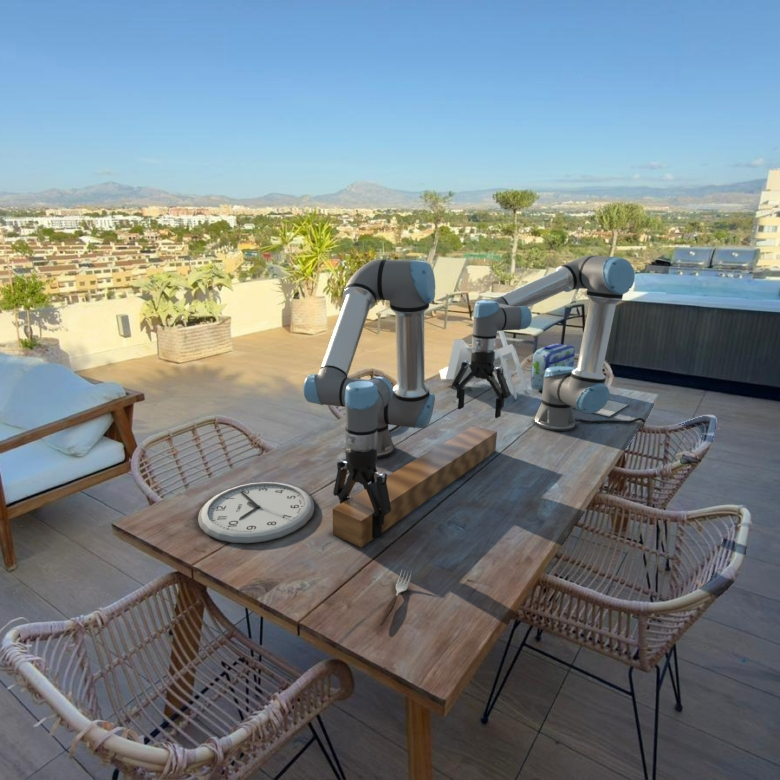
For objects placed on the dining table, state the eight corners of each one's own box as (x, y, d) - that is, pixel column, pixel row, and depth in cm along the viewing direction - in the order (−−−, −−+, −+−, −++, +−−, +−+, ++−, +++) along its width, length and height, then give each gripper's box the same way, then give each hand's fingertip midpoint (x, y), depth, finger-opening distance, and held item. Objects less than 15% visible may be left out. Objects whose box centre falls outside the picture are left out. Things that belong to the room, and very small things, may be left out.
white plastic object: (461, 429, 252) (437, 405, 227) (444, 352, 274) (420, 323, 250) (535, 404, 240) (518, 377, 215) (510, 326, 262) (492, 293, 237)
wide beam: (471, 444, 185) (473, 425, 182) (495, 451, 179) (497, 431, 177) (332, 534, 129) (332, 508, 127) (361, 547, 124) (361, 521, 122)
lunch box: (547, 395, 239) (552, 351, 233) (526, 390, 247) (530, 347, 240) (574, 384, 257) (579, 343, 251) (554, 380, 264) (558, 339, 258)
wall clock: (310, 535, 126) (182, 539, 123) (311, 541, 126) (183, 545, 124) (317, 477, 154) (212, 480, 152) (317, 482, 155) (213, 485, 152)
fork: (373, 626, 100) (374, 617, 99) (401, 576, 114) (401, 568, 113) (386, 630, 99) (386, 621, 98) (412, 579, 113) (412, 571, 112)
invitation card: (608, 416, 214) (573, 407, 224) (608, 416, 214) (573, 408, 224) (628, 404, 229) (594, 396, 238) (628, 405, 229) (594, 397, 238)
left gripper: (317, 439, 128) (319, 520, 134) (388, 464, 115) (387, 552, 122) (337, 431, 133) (339, 509, 140) (408, 453, 121) (405, 537, 128)
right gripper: (443, 346, 171) (440, 407, 178) (514, 358, 157) (508, 424, 163) (455, 342, 177) (452, 401, 183) (524, 353, 163) (518, 417, 169)
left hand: (361, 529), depth 131 cm, fingers closed on wide beam, 9 cm apart
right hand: (478, 412), depth 173 cm, fingers open, 13 cm apart
